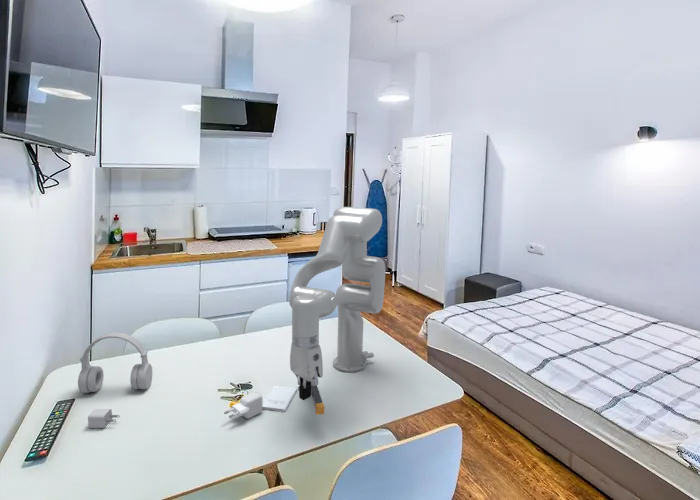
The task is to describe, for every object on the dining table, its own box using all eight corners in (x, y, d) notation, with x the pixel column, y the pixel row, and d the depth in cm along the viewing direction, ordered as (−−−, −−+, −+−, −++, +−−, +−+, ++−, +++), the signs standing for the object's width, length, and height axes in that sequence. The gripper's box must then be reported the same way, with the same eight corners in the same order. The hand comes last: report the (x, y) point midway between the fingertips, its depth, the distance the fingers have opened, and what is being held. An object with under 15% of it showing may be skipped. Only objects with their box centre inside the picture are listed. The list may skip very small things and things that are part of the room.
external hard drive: (297, 392, 135) (285, 413, 123) (273, 389, 136) (259, 410, 124) (297, 387, 135) (285, 409, 123) (273, 385, 136) (259, 405, 124)
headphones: (154, 380, 139) (150, 327, 135) (146, 394, 131) (142, 338, 127) (90, 384, 135) (84, 330, 132) (78, 398, 127) (71, 341, 123)
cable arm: (300, 370, 135) (300, 359, 134) (312, 368, 136) (312, 358, 135) (313, 415, 110) (313, 402, 109) (327, 413, 111) (327, 400, 110)
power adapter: (231, 429, 114) (231, 410, 113) (222, 422, 117) (221, 403, 116) (264, 413, 122) (264, 395, 121) (255, 406, 125) (254, 389, 124)
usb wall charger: (97, 420, 117) (95, 407, 116) (121, 420, 117) (120, 407, 116) (89, 429, 113) (87, 416, 112) (114, 429, 113) (113, 416, 112)
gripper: (332, 343, 112) (331, 403, 116) (300, 327, 123) (299, 383, 126) (311, 351, 107) (311, 413, 111) (279, 334, 118) (279, 391, 121)
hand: (305, 397), depth 118 cm, fingers closed
